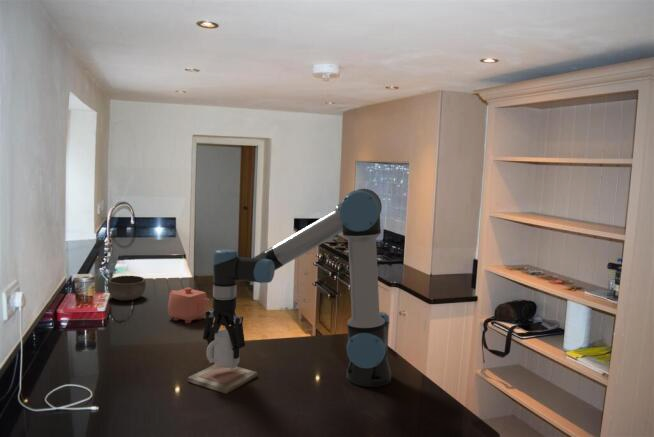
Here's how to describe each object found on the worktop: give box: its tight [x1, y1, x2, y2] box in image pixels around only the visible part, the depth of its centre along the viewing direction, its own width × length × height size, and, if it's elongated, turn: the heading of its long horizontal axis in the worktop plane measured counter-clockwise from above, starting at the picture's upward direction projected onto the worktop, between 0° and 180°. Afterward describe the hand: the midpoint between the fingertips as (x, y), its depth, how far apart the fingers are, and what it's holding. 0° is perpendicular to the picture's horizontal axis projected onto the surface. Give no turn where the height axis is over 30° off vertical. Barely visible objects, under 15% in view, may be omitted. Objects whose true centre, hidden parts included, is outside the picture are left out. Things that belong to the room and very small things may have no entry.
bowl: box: [107, 275, 147, 302], centre depth 264 cm, size 17×18×10 cm
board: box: [187, 364, 258, 394], centre depth 174 cm, size 16×16×2 cm
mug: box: [205, 328, 241, 368], centre depth 174 cm, size 12×8×10 cm
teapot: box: [167, 287, 210, 324], centre depth 235 cm, size 22×13×14 cm, turn 61°
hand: (223, 364), depth 174 cm, fingers closed on mug, 8 cm apart
